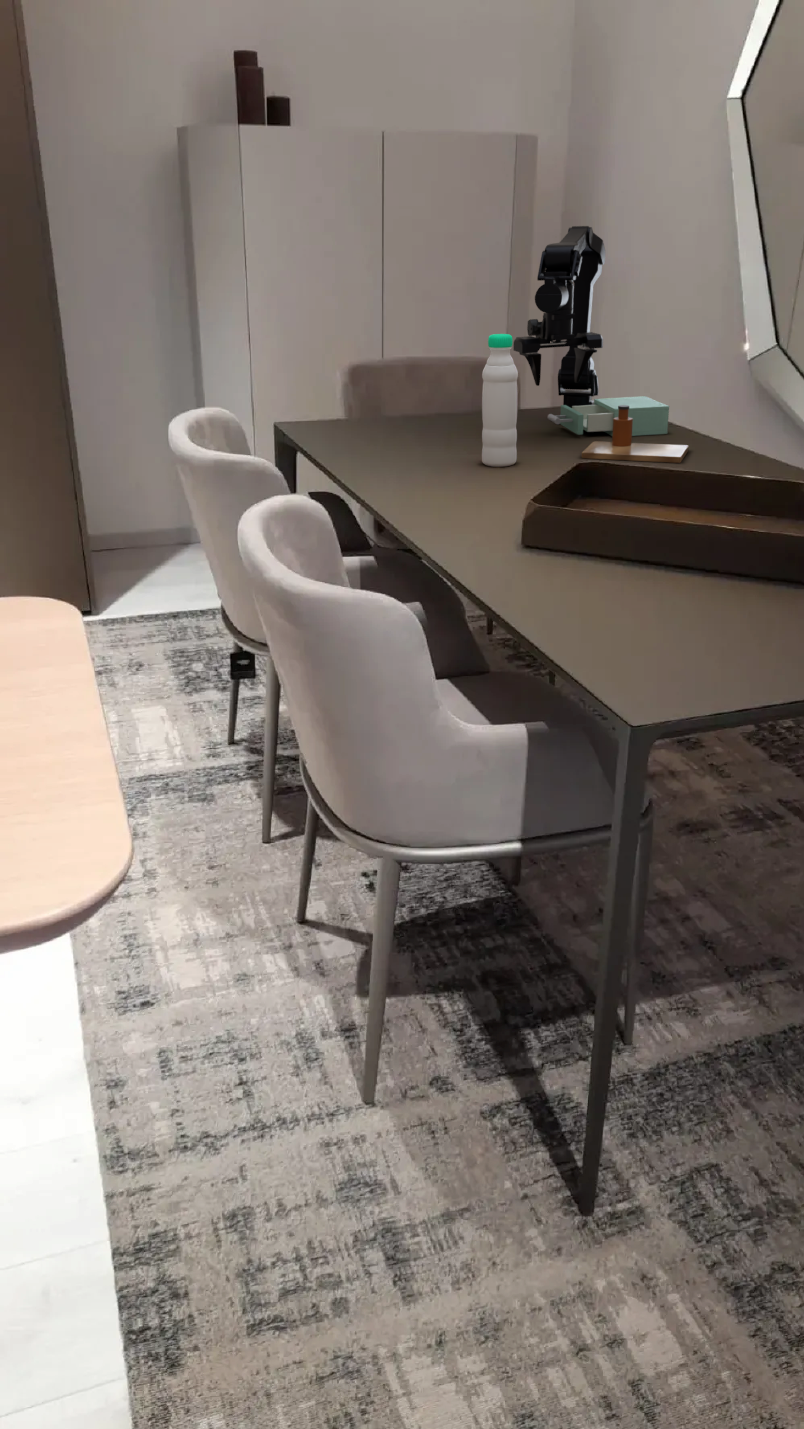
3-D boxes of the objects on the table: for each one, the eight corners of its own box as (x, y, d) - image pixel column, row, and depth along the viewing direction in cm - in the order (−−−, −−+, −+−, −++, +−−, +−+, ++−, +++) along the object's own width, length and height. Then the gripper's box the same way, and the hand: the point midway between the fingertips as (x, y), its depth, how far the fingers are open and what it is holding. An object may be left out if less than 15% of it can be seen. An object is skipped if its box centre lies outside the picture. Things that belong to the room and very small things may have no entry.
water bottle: (514, 467, 220) (516, 336, 210) (479, 467, 222) (479, 336, 211) (518, 460, 226) (520, 332, 216) (484, 459, 228) (484, 332, 217)
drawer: (559, 435, 244) (560, 416, 243) (542, 425, 256) (543, 406, 255) (627, 431, 246) (628, 412, 245) (607, 421, 258) (608, 402, 257)
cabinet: (613, 437, 246) (615, 409, 243) (592, 425, 259) (594, 399, 256) (667, 433, 248) (669, 406, 245) (644, 422, 261) (645, 396, 258)
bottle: (610, 446, 231) (612, 407, 228) (613, 442, 234) (616, 404, 231) (629, 447, 230) (631, 407, 226) (632, 443, 233) (635, 404, 230)
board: (581, 458, 227) (581, 452, 226) (593, 446, 237) (593, 441, 236) (680, 463, 220) (680, 457, 220) (688, 451, 230) (688, 445, 230)
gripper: (583, 303, 244) (580, 376, 250) (504, 308, 239) (503, 382, 246) (605, 307, 234) (602, 383, 241) (523, 312, 229) (522, 389, 236)
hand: (557, 384), depth 241 cm, fingers open, 9 cm apart
